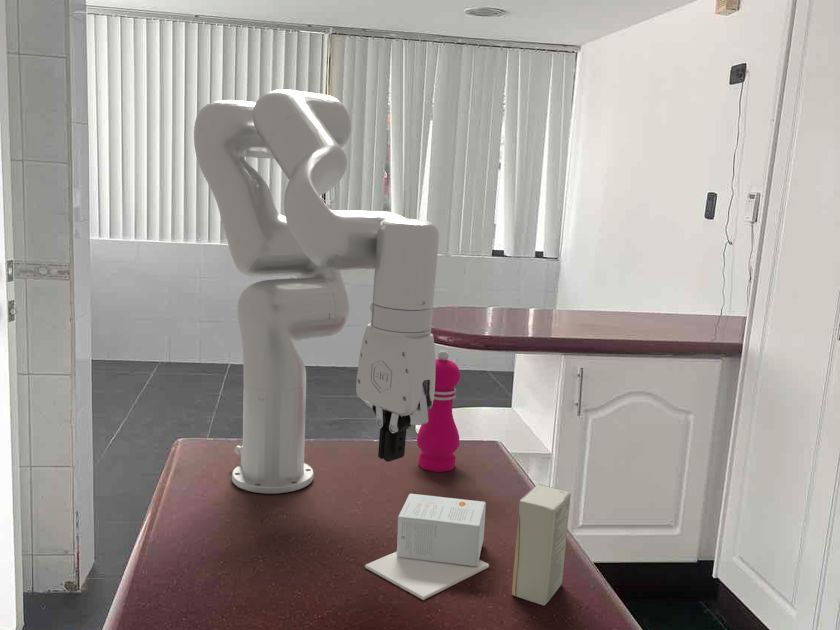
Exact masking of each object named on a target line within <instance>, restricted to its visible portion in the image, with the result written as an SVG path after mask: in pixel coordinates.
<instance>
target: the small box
mask: <svg viewBox="0 0 840 630" xmlns="http://www.w3.org/2000/svg"><path fill="white" fill-rule="evenodd" d="M486 506H487V503H486V501H483V500H481V501H480V500H473V499H472V500H471V499H463V498H453V497H445V496H444V497H443V496H436V495H429V494H426V495H425V494H417V493H416V494H415V493H409V494H408V496H407V498H406V501H405V502H404V504H403V505H402V507H401V508H402V509H401V510H400V512H399V514H398V516H397V532H396V533H397V534H396V535H397V538H396V552H397V557H402V558H409V559H418V560H426V561H434V562H442V563H450V564H458V565H467V566H474V567H477V566H478V562H479V560H480V557H481V553H482V552H481V551H482V549H483V548H482V547H483V543H484V540H485V539H484V536H485V525H486V524H485V522H486V510H487V509H486V508H487V507H486Z"/></svg>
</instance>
